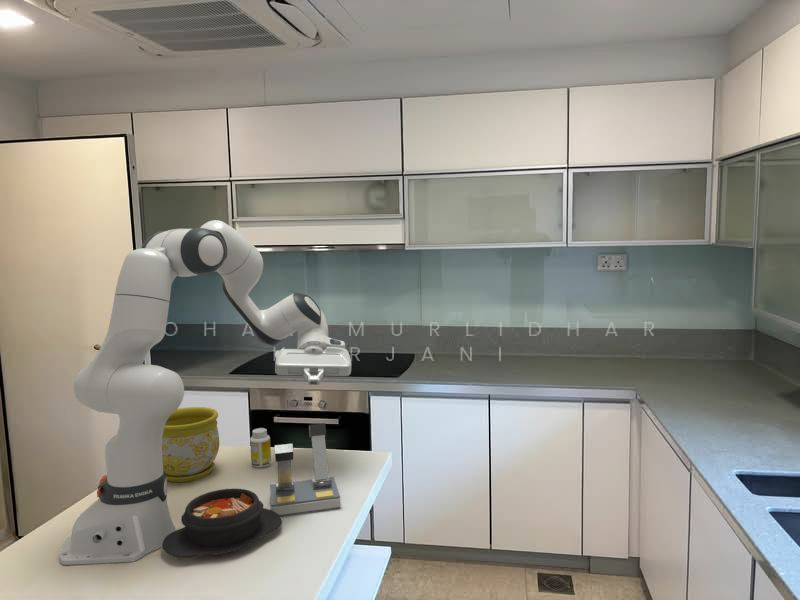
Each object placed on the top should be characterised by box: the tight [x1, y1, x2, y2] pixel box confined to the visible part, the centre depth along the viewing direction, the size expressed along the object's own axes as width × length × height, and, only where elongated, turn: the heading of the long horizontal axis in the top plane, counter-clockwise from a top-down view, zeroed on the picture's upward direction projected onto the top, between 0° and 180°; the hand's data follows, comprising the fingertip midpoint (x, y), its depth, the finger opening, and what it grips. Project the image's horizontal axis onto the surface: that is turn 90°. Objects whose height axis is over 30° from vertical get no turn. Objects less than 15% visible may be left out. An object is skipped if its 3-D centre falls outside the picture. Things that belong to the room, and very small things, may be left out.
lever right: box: [308, 422, 332, 488], centre depth 149 cm, size 4×2×15 cm, turn 104°
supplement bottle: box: [249, 427, 272, 469], centre depth 170 cm, size 6×6×10 cm
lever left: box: [274, 443, 295, 493], centre depth 141 cm, size 4×2×15 cm
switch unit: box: [269, 476, 341, 517], centre depth 146 cm, size 16×12×3 cm
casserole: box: [162, 488, 283, 559], centre depth 129 cm, size 25×19×8 cm
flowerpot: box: [162, 406, 220, 483], centre depth 165 cm, size 18×18×16 cm
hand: (313, 382), depth 154 cm, fingers closed
